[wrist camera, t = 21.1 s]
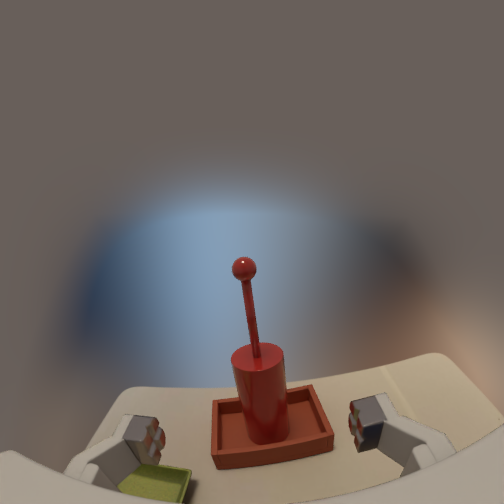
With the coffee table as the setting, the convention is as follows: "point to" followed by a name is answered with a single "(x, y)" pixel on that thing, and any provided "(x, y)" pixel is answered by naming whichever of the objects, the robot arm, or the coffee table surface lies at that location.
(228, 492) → the coffee table surface
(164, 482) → the green tray
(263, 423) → the red ball-topped plunger
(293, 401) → the red tray
